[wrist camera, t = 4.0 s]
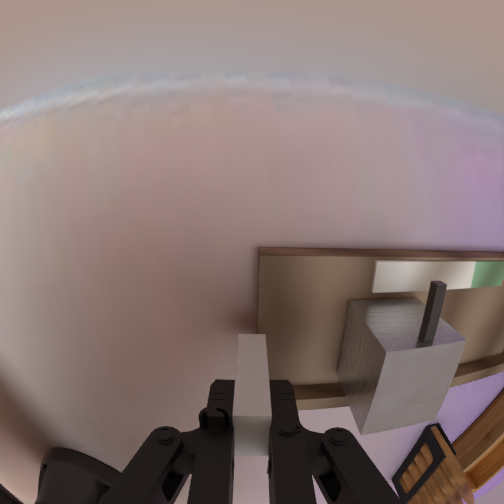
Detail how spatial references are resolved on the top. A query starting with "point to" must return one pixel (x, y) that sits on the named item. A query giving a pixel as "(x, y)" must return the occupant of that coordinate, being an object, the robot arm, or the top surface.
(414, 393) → the cube with dark rod
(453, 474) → the ammunition clip
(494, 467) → the tray
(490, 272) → the brown tray with block
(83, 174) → the top surface
